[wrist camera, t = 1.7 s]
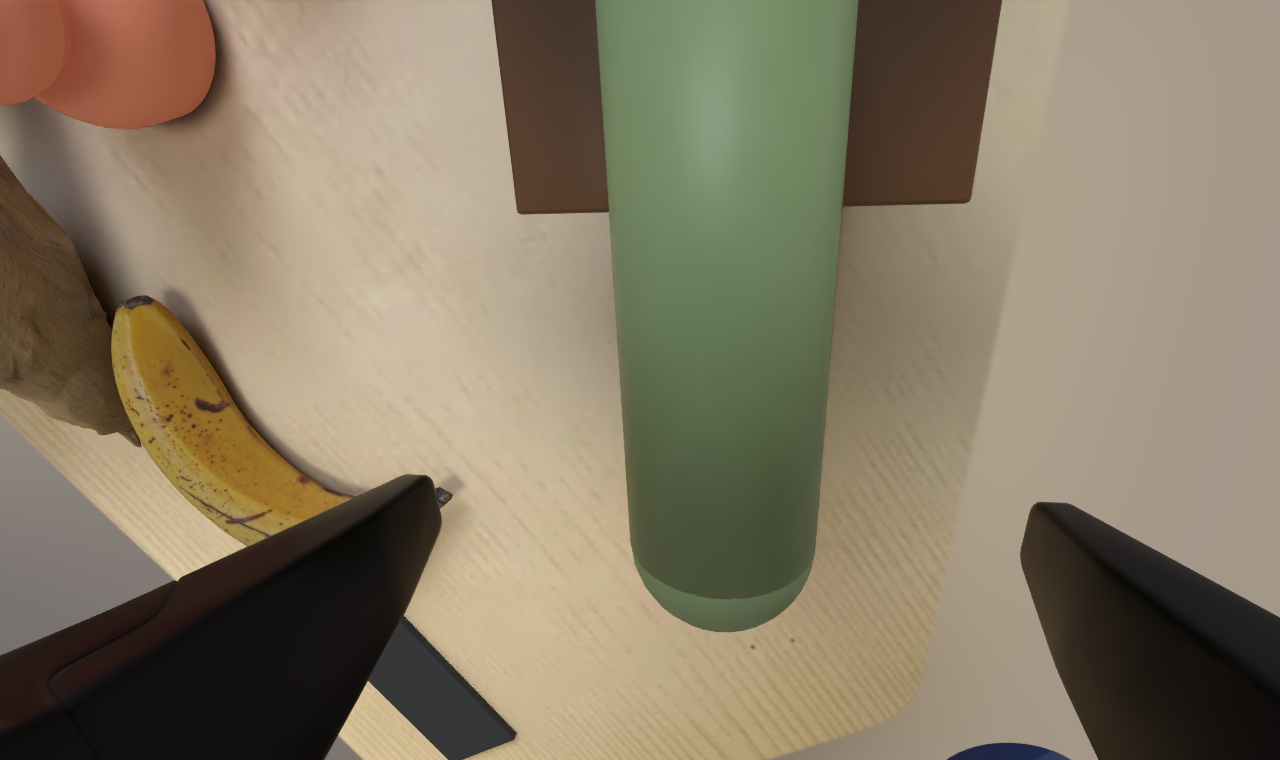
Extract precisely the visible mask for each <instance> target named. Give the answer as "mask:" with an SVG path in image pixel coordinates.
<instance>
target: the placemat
mask: <svg viewBox="0 0 1280 760" xmlns="http://www.w3.org/2000/svg"><path fill="white" fill-rule="evenodd" d="M368 681H369V682H370V683H371V684H372V685H373V686H374V687H375V688H376V689H377V690H378V691H379V692H380V693H381V694H382V695H383V696H384V697H385V698H386V699H387V700H388V701H389V702H390V703H391V704H392V705H393V706H394V707H395V708H396V709H397V710H398V711H399V712H400V713H401V714H402V715H404V716H405V717H406V718H407V719H408V720H409V721H410V722H411V723H412V724H413V725H414V726H415V727H416V728H417V729H418V730H419V731H420V732H421V733H422V734H423V735H424V736H425V737H426V738H427V739H428V740H429V741H430V742H431V743H432V744H433V745H434V746H435V747H436V748H437V749H438V750H439V751H440V752H441V753H442V754H443V755H444V756H445V757H446V758H447V759H448V760H462V759H465V758H468V757H470V756H473V755H475V754H478V753H481V752H483V751H486V750H489V749H491V748H494V747H496V746H499V745H502V744H504V743H507V742H509V741H512V740H514V738H515V736H516V733H515V732H514V731H513V730H512V729H511V728H510V727H509V726H508V725H507V723H506V722H505V721H504V720H503V719H502V718H501V717H500V716H499V715H498V714H497V713H496V712H495V711H494V710H493V709H492V708H491V707H490V706H489V705H488V704H487V703H486V702H485V701H484V700H483V699H482V698H481V697H480V696H479V694H478V693H477V692H476V691H475V690H474V689H473V688H472V687H471V686H470V685H469V684H468V683H467V682H466V681H465V680H464V679H463V678H462V677H461V676H460V675H459V674H458V673H457V672H456V671H455V670H454V669H453V668H452V667H451V665H450V664H449V663H448V662H447V661H446V660H445V659H444V658H443V657H442V656H441V655H440V654H439V653H438V652H437V651H436V650H435V649H434V648H433V647H432V646H431V645H430V644H429V643H428V642H427V641H426V640H425V639H424V638H423V636H422V635H421V634H420V633H419V632H418V631H417V630H416V629H415V628H414V627H413V626H412V625H411V624H410V623H409V622H408V621H407V620H406V619H405V618H404V617H402V619H401V621H400V623H399V625H398V627H397V629H396V631H395V632H394V634H393V636H392V638H391V640H390V641H389V643H388V645H387V647H386V649H385V651H384V652H383V654H382V656H381V658H380V660H379V661H378V663H377V665H376V667H375V669H374V671H373V672H372V674H371V676H370V678H369V680H368Z"/></svg>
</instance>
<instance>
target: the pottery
mask: <svg viewBox="0 0 1280 760" xmlns="http://www.w3.org/2000/svg"><path fill="white" fill-rule="evenodd" d="M215 61H216V54H215V39H214V34H213V30H212V25H211V21H210V18H209V15H208V12H207V9H206V7H205V4H204V2H203V0H0V105H11V104H17V103H22V102H26V101H28V100H30V99H31V98H33V97H34V98H35V99H37V100H38V101H40V102H42V103H44V104H45V105H47V106H49V107H50V108H52V109H54V110H56V111H58V112H60V113H62V114H64V115H66V116H69V117H72V118H74V119H77V120H80V121H83V122H86V123H90V124H93V125H97V126H102V127H107V128H118V129H138V128H143V127H148V126H153V125H156V124H160V123H163V122H166V121H169V120H171V119H174V118H178V117H182V116H184V115H186V114H188V113H190V112H191V111H193V110H194V109H195V108H196V107H197V106H198V105H199V104H200V103H201V102H202V101H203V100H204V98H205V96H206V94H207V93H208V91H209V89H210V86H211V83H212V80H213V77H214V70H215Z"/></svg>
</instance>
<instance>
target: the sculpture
mask: <svg viewBox="0 0 1280 760" xmlns="http://www.w3.org/2000/svg"><path fill="white" fill-rule="evenodd" d="M106 318H107V314H106V312H105V311H104V310H103V309H102V307H101V305H100V302H99V301H98V299H97V298H96V296H95V294H94V292H93V290H92V288H91V285H90V283H89V281H88V278H87V275H86V273H85V270H84V268H83V265H82V262H81V260H80V257H79V255H78V253H77V251H76V249H75V246H74V244H73V242H72V240H71V239H70V238H69V237H68V236H67V235H66V233H65V232H64V231H63V230H62V229H61V228H60V227H59V226H58V224H57V223H56V222H55V221H54V220H53V219H52V218H51V217H50V216H49V215H48V214H47V212H46V211H45V210H44V209H43V208H42V207H41V206H40V205H39V204H38V203H37V202H36V201H35V200H34V199H33V198H32V197H31V196H30V195H29V193H28V192H27V191H26V190H25V189H24V187H23V186H22V184H21V183H20V182H19V180H18V179H17V178H16V176H15V175H14V173H13V172H12V171H11V169H10V168H9V167H8V165H7V164H6V162H5V161H4V160H3V158H2V157H1V156H0V389H4V390H8V391H10V392H11V393H13V394H14V395H16V396H18V397H20V398H23V399H26V400H28V401H31V402H33V403H35V404H37V405H38V406H39V407H40V408H41V409H42V410H43V411H44V412H45V413H46V414H47V415H48V416H50V417H52V418H54V419H57V420H61V421H65V422H67V423H69V424H71V425H76V426H80V427H83V428H89V429H93V430H96V431H97V433H98V434H99V435H107V434H111V433H115V432H118V433H120V434H121V435H123V436H124V437H125V438H126V439H127V440H129V441H130V442H131V443H132V444H133V445H135V446H137V447H142V446H141V441H140V438H139V437H138V435H137V433H136V431H135V429H134V427H133V426H132V423H131V421H130V419H129V417H128V415H127V413H126V411H125V408H124V405H123V403H122V400H121V398H120V395H119V391H118V388H117V384H116V381H115V375H114V370H113V364H112V353H111V341H112V329H111V326H110V325H109V324H108V323H107V320H106Z"/></svg>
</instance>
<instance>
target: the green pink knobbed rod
mask: <svg viewBox="0 0 1280 760" xmlns="http://www.w3.org/2000/svg"><path fill="white" fill-rule="evenodd" d="M595 4H596V19H597V34H598V50H599V65H600V80H601V96H602V111H603V126H604V142H605V157H606V173H607V188H608V203H609V219H610V234H611V249H612V265H613V280H614V295H615V311H616V326H617V341H618V357H619V372H620V387H621V403H622V418H623V433H624V449H625V464H626V480H627V495H628V510H629V526H630V541H631V546H632V551H633V557H634V562H635V565H636V567H637V570H638V572H639V574H640V576H641V578H642V580H643V582H644V585H645V587H646V588H647V589H648V591H649V592H650V593H651V594H652V596H653V597H654V598H655V599H656V600H657V601H658V603H659V604H660V605H661V606H662V607H663V608H664V609H665V610H667V611H668V612H669V613H670V614H672V615H673V616H675V617H677V618H679V619H681V620H682V621H684V622H686V623H688V624H690V625H692V626H695V627H698V628H701V629H704V630H709V631H715V632H736V631H743V630H747V629H750V628H754V627H757V626H759V625H761V624H763V623H765V622H767V621H769V620H771V619H773V618H775V617H776V616H778V615H779V614H780V613H781V612H783V611H784V610H785V609H786V608H787V607H788V606H789V605H790V604H791V603H792V602H793V601H794V600H795V598H796V597H797V596H798V594H799V593H800V592H801V590H802V588H803V586H804V584H805V582H806V580H807V578H808V576H809V573H810V570H811V568H812V563H813V559H814V554H815V546H816V534H817V521H818V508H819V496H820V483H821V470H822V457H823V445H824V432H825V419H826V407H827V394H828V381H829V368H830V356H831V343H832V330H833V318H834V305H835V292H836V279H837V267H838V254H839V241H840V229H841V216H842V203H843V191H844V178H845V165H846V152H847V140H848V127H849V114H850V102H851V89H852V76H853V63H854V51H855V38H856V25H857V13H858V0H595Z"/></svg>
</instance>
